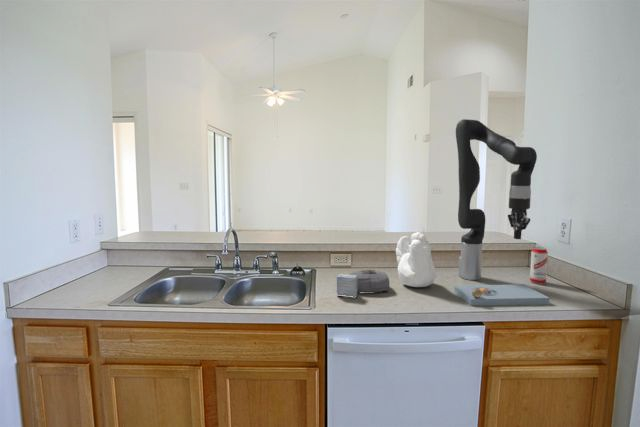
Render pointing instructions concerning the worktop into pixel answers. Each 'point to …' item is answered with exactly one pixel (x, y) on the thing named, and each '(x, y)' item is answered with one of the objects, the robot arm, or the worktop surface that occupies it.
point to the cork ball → (476, 293)
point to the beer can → (538, 265)
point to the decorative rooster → (415, 261)
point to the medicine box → (347, 285)
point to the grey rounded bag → (371, 281)
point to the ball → (484, 291)
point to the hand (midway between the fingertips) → (517, 238)
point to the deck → (502, 295)
